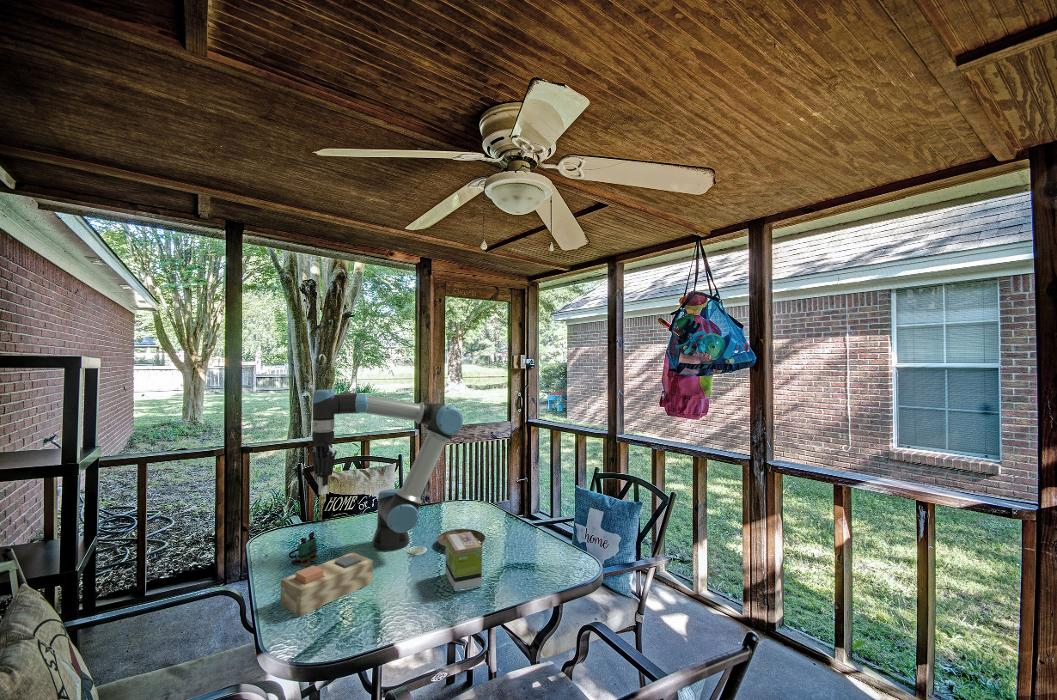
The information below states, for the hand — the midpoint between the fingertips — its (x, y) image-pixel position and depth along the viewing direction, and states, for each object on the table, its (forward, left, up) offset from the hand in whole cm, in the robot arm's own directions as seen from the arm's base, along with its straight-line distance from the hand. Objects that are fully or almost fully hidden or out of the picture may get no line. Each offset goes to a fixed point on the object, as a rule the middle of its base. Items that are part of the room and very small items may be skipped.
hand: (323, 493), depth 169 cm
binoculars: (+9, -9, -29) cm, 32 cm away
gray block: (-12, +13, -28) cm, 33 cm away
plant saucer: (-53, -17, -29) cm, 63 cm away
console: (-7, +18, -29) cm, 34 cm away
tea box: (-52, +16, -29) cm, 61 cm away
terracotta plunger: (-2, +23, -27) cm, 35 cm away
